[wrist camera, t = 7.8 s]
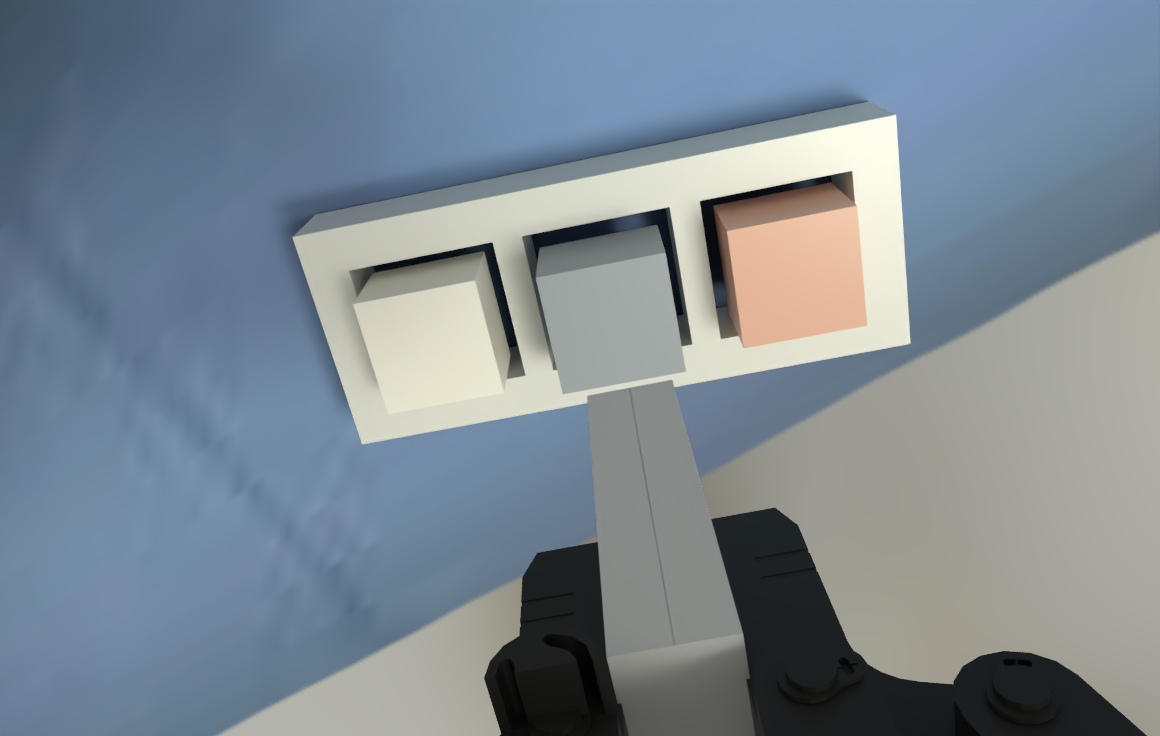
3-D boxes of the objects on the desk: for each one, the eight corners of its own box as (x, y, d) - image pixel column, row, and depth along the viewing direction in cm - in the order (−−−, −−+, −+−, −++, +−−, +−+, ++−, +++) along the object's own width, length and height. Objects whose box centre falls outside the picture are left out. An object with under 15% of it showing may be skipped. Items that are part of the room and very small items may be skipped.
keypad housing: (378, 408, 37) (362, 444, 34) (315, 214, 34) (292, 237, 31) (884, 313, 35) (910, 343, 33) (868, 101, 32) (896, 114, 29)
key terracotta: (728, 313, 33) (743, 348, 30) (713, 205, 32) (727, 231, 29) (841, 292, 33) (867, 325, 30) (830, 182, 31) (857, 205, 28)
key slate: (564, 355, 33) (562, 394, 30) (539, 247, 31) (535, 277, 28) (675, 334, 32) (686, 371, 29) (657, 224, 31) (665, 252, 28)
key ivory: (404, 375, 34) (388, 414, 31) (373, 272, 32) (352, 304, 30) (510, 355, 34) (504, 392, 31) (484, 250, 32) (474, 280, 29)
